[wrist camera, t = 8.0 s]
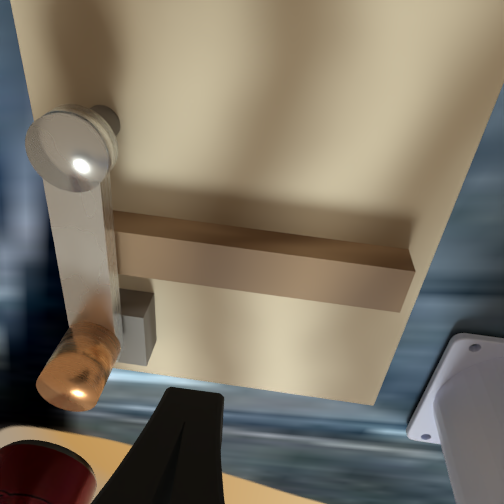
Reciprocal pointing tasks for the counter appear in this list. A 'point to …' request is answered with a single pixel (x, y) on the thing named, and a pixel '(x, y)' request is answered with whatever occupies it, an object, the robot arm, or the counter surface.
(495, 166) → the counter surface
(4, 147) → the counter surface
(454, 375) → the robot arm
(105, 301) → the bar
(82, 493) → the soda can
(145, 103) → the door board
